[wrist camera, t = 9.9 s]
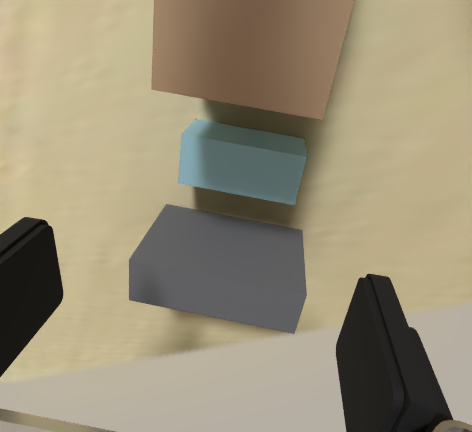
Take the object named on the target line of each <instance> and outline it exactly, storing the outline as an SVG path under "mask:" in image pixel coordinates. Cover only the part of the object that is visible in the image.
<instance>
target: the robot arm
mask: <svg viewBox="0 0 472 432" xmlns="http://www.w3.org/2000/svg"><path fill="white" fill-rule="evenodd" d="M62 299H63V287H62V281H61V275H60V269H59V263H58V257H57V251H56V245H55V239H54V233H53V229H52V227H51V226H49V225H48V223H47V221H45V220H41V219H35V218H29V217H24V218H22V219H21V220H19V221H18V222H17V223H15V224H14V225H13V226H11V227H10V228H9V229H7V230H6V231H4V232H3V233H2V234H0V377H1V376H2V374H3V373H4V372H5V371H6V370H7V368H8V367H9V366H10V365H11V363H12V362H13V361H14V360H15V359H16V357H17V356H18V355H19V354H20V352H21V351H22V350H23V349H24V348H25V346H26V345H27V344H28V343H29V341H30V340H31V339H32V338H33V337H34V335H35V334H36V333H37V332H38V330H39V329H40V328H41V327H42V326H43V324H44V323H45V322H46V321H47V319H48V318H49V317H50V316H51V315H52V313H53V312H54V311H55V310H56V308H57V307H58V306H59V305H60V303H61V301H62ZM336 358H337V365H338V373H339V380H340V387H341V395H342V401H343V409H344V417H345V424H346V431H347V432H472V425H469V424H467V423H464V422H461V421H455V420H453V418H452V415H451V413H450V410H449V408H448V405H447V403H446V400H445V398H444V396H443V393H442V391H441V388H440V386H439V384H438V381H437V379H436V376H435V374H434V371H433V369H432V366H431V364H430V361H429V359H428V357H427V354H426V352H425V349H424V347H423V344H422V342H421V339H420V337H419V335H418V333H417V331H416V330H415V329H414V328H411V327H409V326H408V324H407V321H406V319H405V316H404V313H403V311H402V308H401V306H400V303H399V300H398V298H397V295H396V293H395V290H394V287H393V285H392V282H391V280H390V278H389V277H386V276H380V275H374V274H367V276H366V277H365V278H360V279H359V280H358V283H357V286H356V288H355V291H354V294H353V297H352V300H351V303H350V306H349V309H348V312H347V314H346V317H345V320H344V323H343V326H342V329H341V332H340V335H339V338H338V341H337V345H336ZM0 432H114V431H109V430H105V429H100V428H95V427H90V426H85V425H79V424H75V423H70V422H65V421H60V420H55V419H50V418H45V417H40V416H35V415H30V414H25V413H20V412H15V411H9V410H4V409H0Z"/></svg>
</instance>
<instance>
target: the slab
mask: <svg viewBox="0 0 472 432" xmlns="http://www.w3.org/2000/svg"><path fill="white" fill-rule="evenodd" d="M354 1H355V0H154V24H153V58H152V90H158V91H163V92H169V93H174V94H180V95H186V96H191V97H197V98H202V99H208V100H214V101H219V102H225V103H230V104H236V105H241V106H247V107H253V108H258V109H264V110H269V111H275V112H281V113H286V114H292V115H297V116H303V117H309V118H314V119H320V120H323V118H324V114H325V110H326V107H327V103H328V99H329V95H330V91H331V88H332V84H333V80H334V76H335V73H336V69H337V65H338V61H339V57H340V54H341V50H342V46H343V42H344V39H345V35H346V31H347V27H348V23H349V20H350V16H351V12H352V8H353V5H354Z"/></svg>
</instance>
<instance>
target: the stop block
mask: <svg viewBox="0 0 472 432" xmlns="http://www.w3.org/2000/svg"><path fill="white" fill-rule="evenodd" d="M306 296H307V294H306V279H305V263H304V248H303V233H302V230H298V229H293V228H287V227H282V226H277V225H272V224H267V223H261V222H256V221H251V220H246V219H241V218H235V217H230V216H225V215H220V214H215V213H209V212H204V211H199V210H194V209H189V208H183V207H178V206H173V205H168V204H166V206H165V207H164V208H163V210H162V211H161V213H160V214H159V216H158V217H157V219H156V220H155V222H154V223H153V225H152V226H151V228H150V229H149V231H148V232H147V234H146V235H145V237H144V238H143V240H142V241H141V243H140V244H139V246H138V247H137V249H136V250H135V252H134V253H133V255H132V256H131V258H130V259H129V300H131V301H136V302H141V303H146V304H151V305H156V306H161V307H166V308H170V309H175V310H180V311H185V312H190V313H195V314H200V315H205V316H210V317H214V318H219V319H224V320H229V321H234V322H239V323H244V324H249V325H253V326H258V327H263V328H268V329H273V330H278V331H283V332H288V333H293V334H294V333H295V330H296V327H297V324H298V321H299V318H300V314H301V311H302V308H303V305H304V302H305V299H306Z"/></svg>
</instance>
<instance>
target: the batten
mask: <svg viewBox="0 0 472 432" xmlns="http://www.w3.org/2000/svg"><path fill="white" fill-rule="evenodd" d="M306 159H307V153H306V146H305V139H303V138H298V137H292V136H287V135H281V134H276V133H270V132H265V131H259V130H254V129H248V128H243V127H237V126H232V125H226V124H221V123H215V122H210V121H204V120H199V119H196V120H195V121H194V122H193V123H192V124H191V125H190V126H189V127H188V128H187V129H186V130H185V131H184V132H183V133H182V137H181V150H180V164H179V177H178V183H179V184H185V185H190V186H195V187H201V188H206V189H211V190H216V191H222V192H227V193H232V194H237V195H243V196H248V197H253V198H258V199H264V200H269V201H274V202H280V203H285V204H290V205H295V202H296V198H297V194H298V190H299V187H300V183H301V179H302V175H303V171H304V167H305V163H306Z"/></svg>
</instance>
